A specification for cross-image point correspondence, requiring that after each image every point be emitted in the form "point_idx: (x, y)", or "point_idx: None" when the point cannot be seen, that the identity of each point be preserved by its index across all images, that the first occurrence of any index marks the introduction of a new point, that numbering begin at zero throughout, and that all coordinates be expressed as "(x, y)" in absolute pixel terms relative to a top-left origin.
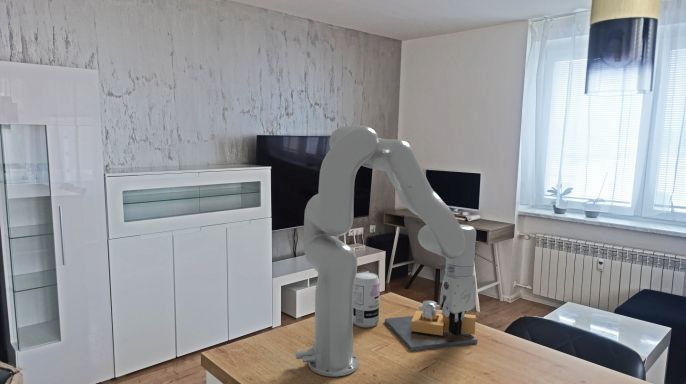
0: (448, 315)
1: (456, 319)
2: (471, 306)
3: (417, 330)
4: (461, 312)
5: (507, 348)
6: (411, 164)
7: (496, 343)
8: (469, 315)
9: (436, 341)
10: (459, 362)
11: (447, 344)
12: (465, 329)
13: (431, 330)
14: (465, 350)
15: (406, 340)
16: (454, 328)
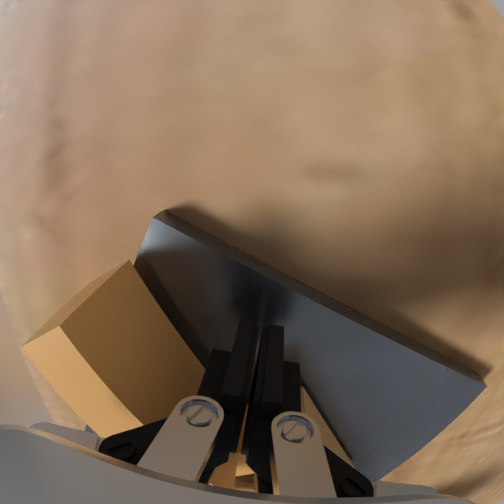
0: (388, 492)
1: (299, 434)
2: (50, 477)
3: (348, 461)
4: (197, 475)
5: (88, 55)
6: None
7: (75, 133)
8: (65, 384)
9: (382, 368)
10: (472, 160)
11: (358, 318)
12: (155, 328)
13: (328, 438)
14: (317, 209)
15: (438, 429)
16: (290, 376)
